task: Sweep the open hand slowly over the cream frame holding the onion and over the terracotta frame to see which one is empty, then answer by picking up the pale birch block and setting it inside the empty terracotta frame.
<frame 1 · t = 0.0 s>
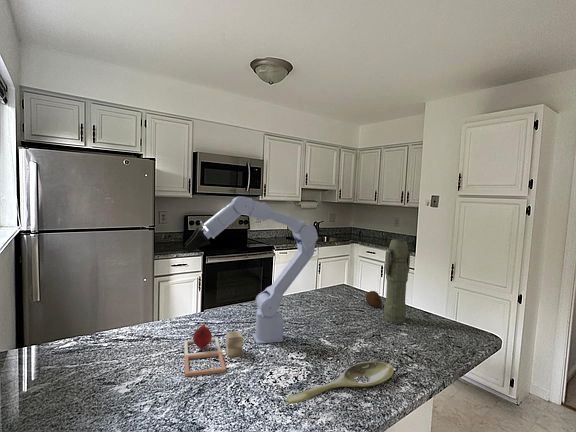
hand: (186, 248, 107), 32 cm above the counter, tool tilted 50°, fingers open, 7 cm apart
thermos: (394, 320, 142), on the counter
spoon: (342, 386, 89), on the counter
potato: (372, 305, 162), on the counter
birch block: (233, 352, 105), on the counter
onion: (202, 349, 107), resting in cream frame
cream frame: (202, 348, 107), on the counter
terracotta frame: (204, 364, 97), on the counter
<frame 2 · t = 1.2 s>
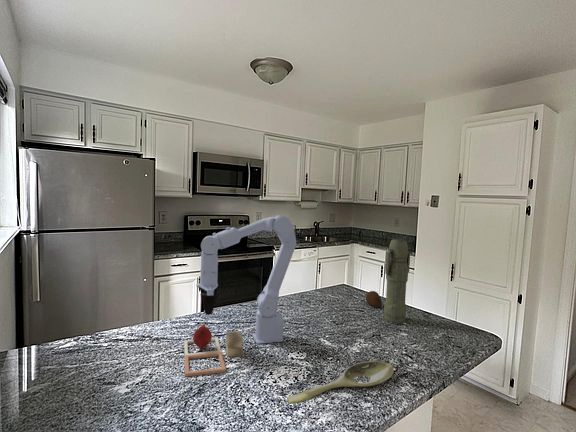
hand: (207, 310, 113), 10 cm above the counter, tool pointing down, fingers open, 7 cm apart
nothing on the counter moved.
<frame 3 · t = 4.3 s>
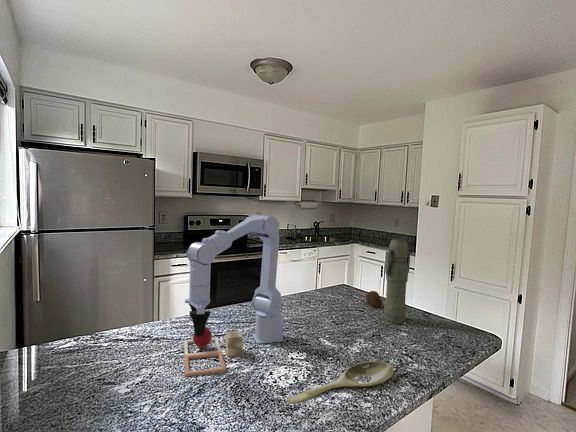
hand: (198, 330, 96), 10 cm above the counter, tool pointing down, fingers open, 7 cm apart
nothing on the counter moved.
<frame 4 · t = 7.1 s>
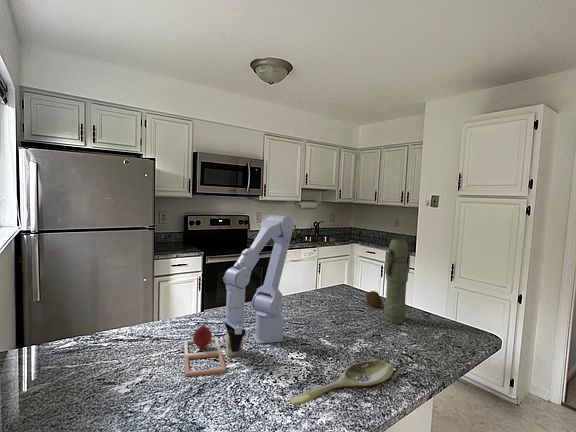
hand: (233, 347, 105), 2 cm above the counter, tool pointing down, fingers closed on birch block, 4 cm apart
birch block: (233, 352, 105), on the counter, touching gripper
everything else where it was.
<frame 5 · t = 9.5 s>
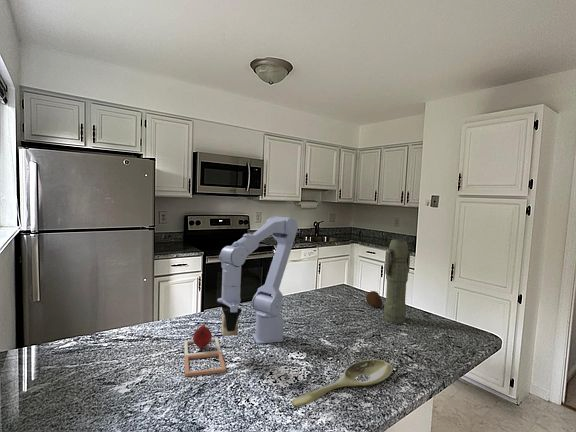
hand: (229, 327, 103), 9 cm above the counter, tool pointing down, fingers closed on birch block, 4 cm apart
birch block: (229, 332, 103), point 7 cm above the counter, touching gripper
everything else where it was.
when the fingers open (3 cm above the counter, at t = 11.9 s): birch block drops 1 cm, resting in terracotta frame.
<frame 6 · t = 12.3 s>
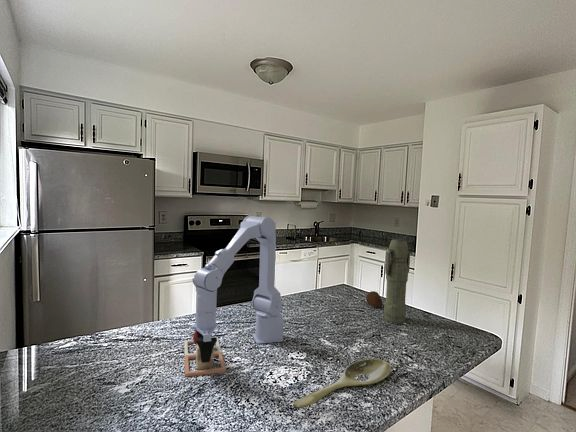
hand: (204, 355, 97), 3 cm above the counter, tool pointing down, fingers open, 7 cm apart
birch block: (204, 365, 97), resting in terracotta frame
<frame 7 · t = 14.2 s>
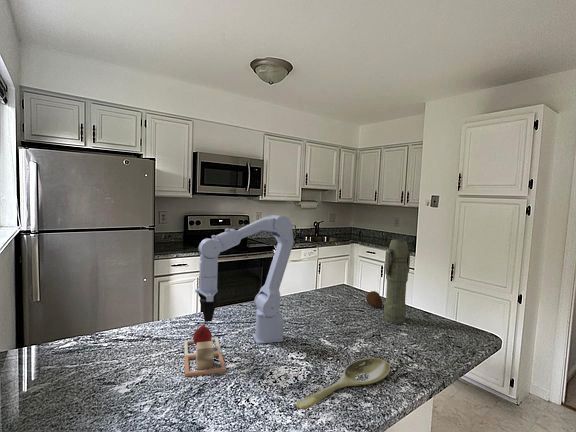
hand: (207, 317, 107), 10 cm above the counter, tool pointing down, fingers open, 7 cm apart
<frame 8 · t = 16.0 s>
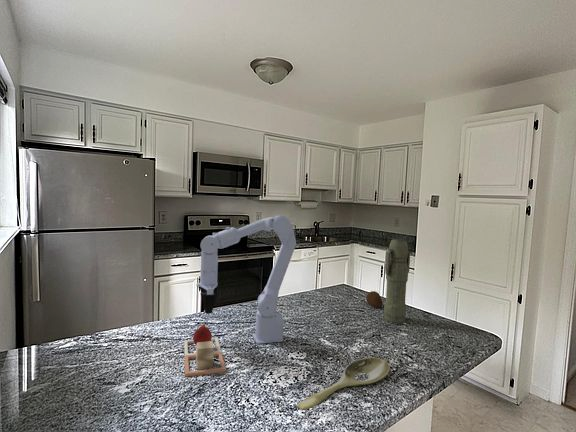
hand: (207, 309, 114), 10 cm above the counter, tool pointing down, fingers open, 7 cm apart
at the end: birch block 0.0 cm off-centre on the terracotta frame, point 0.0 cm above the terracotta frame's base; the gripper is holding nothing; onion moved 0.2 cm from its start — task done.
